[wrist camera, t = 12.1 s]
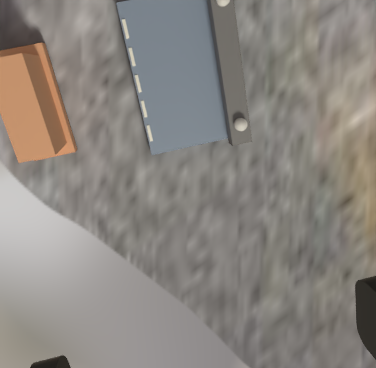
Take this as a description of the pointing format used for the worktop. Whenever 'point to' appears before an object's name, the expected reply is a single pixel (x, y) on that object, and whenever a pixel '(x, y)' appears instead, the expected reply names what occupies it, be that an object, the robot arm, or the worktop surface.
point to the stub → (33, 104)
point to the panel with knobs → (186, 71)
